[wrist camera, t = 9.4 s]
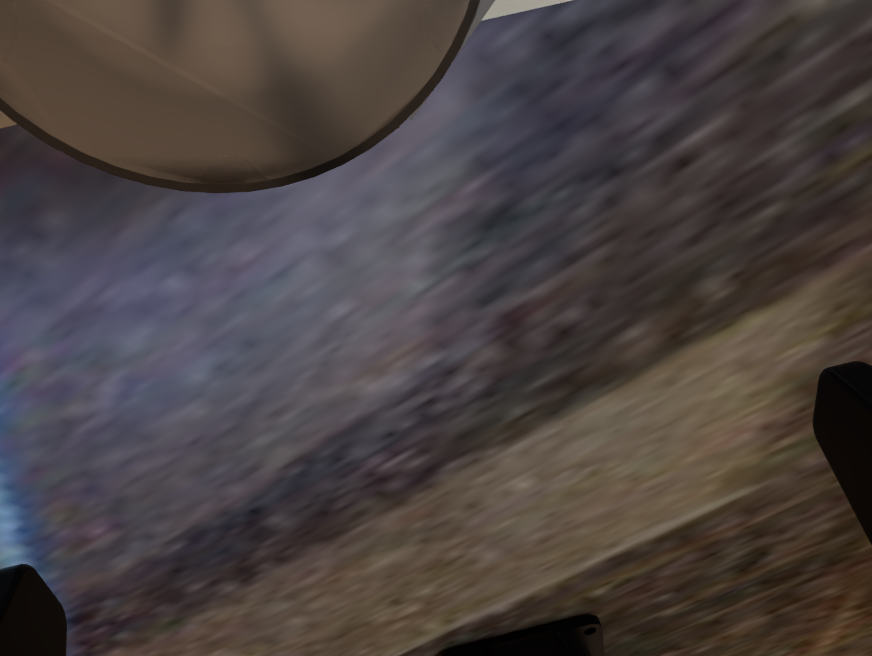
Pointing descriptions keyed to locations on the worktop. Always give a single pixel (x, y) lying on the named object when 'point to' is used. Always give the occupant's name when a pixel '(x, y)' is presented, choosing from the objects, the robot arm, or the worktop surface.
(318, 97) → the lens
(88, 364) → the worktop surface
